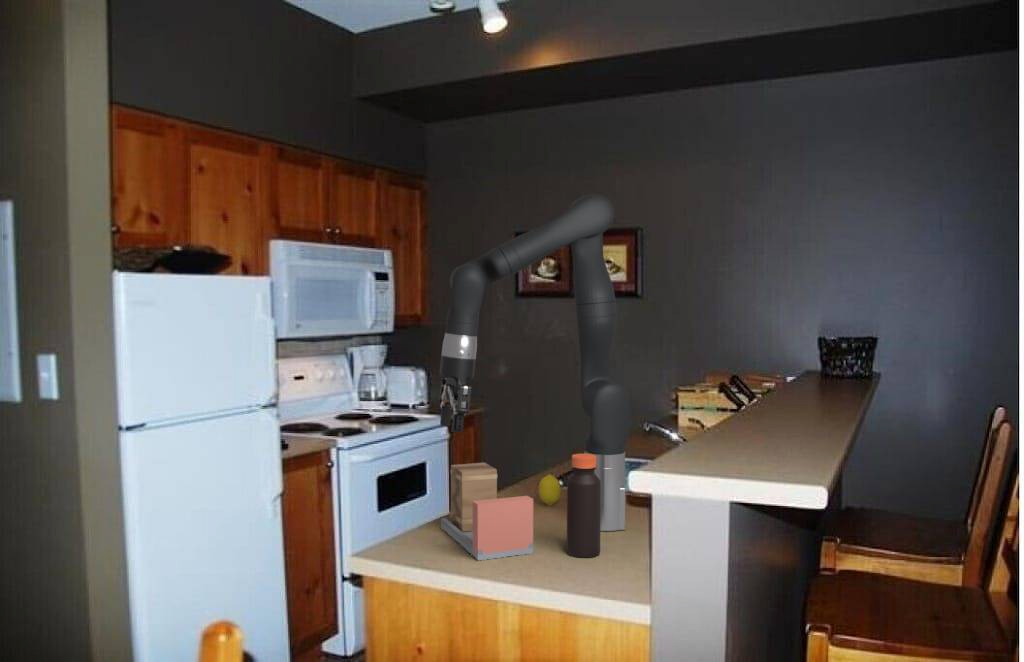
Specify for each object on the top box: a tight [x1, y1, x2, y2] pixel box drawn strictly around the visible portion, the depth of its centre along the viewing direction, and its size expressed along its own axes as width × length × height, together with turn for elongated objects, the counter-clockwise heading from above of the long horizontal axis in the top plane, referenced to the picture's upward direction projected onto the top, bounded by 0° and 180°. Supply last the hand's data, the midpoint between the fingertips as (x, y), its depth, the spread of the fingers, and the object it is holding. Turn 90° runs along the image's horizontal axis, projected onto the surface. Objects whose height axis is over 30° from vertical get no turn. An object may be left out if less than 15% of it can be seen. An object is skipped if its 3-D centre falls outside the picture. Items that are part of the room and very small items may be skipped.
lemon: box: [538, 474, 561, 507], centre depth 195 cm, size 6×6×8 cm
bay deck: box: [440, 517, 534, 562], centre depth 166 cm, size 24×12×2 cm, turn 22°
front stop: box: [473, 495, 534, 555], centre depth 156 cm, size 3×12×10 cm, turn 112°
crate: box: [450, 462, 498, 532], centre depth 173 cm, size 8×8×13 cm
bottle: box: [566, 453, 601, 559], centre depth 157 cm, size 7×7×20 cm
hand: (450, 428), depth 169 cm, fingers open, 8 cm apart
